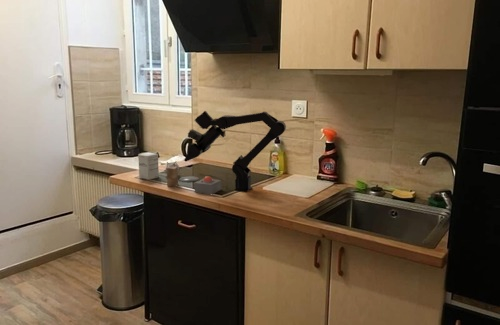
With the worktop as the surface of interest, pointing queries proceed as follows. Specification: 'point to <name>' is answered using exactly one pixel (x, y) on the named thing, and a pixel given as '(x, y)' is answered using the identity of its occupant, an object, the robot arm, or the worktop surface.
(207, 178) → the dome button
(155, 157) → the supplement box
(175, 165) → the white crumpled paper
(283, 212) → the worktop surface
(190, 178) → the slate coaster
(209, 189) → the button housing
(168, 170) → the brown tapered cup
